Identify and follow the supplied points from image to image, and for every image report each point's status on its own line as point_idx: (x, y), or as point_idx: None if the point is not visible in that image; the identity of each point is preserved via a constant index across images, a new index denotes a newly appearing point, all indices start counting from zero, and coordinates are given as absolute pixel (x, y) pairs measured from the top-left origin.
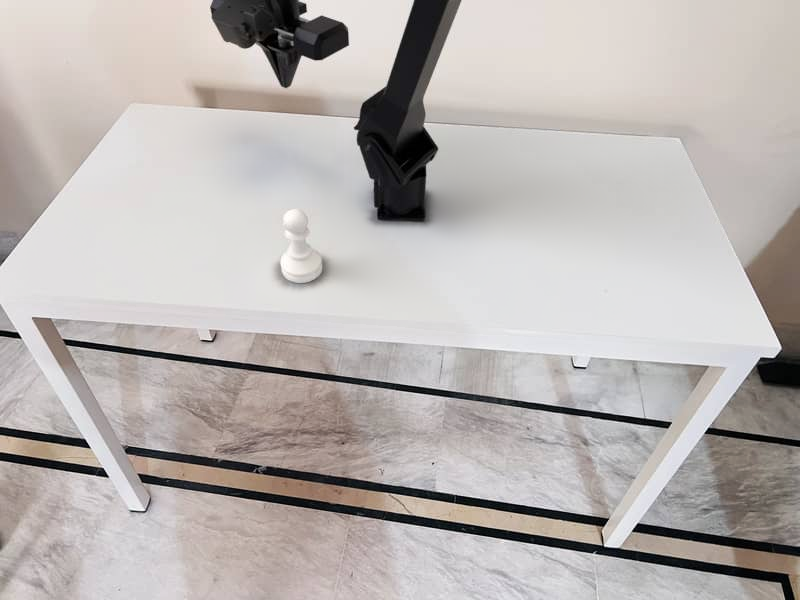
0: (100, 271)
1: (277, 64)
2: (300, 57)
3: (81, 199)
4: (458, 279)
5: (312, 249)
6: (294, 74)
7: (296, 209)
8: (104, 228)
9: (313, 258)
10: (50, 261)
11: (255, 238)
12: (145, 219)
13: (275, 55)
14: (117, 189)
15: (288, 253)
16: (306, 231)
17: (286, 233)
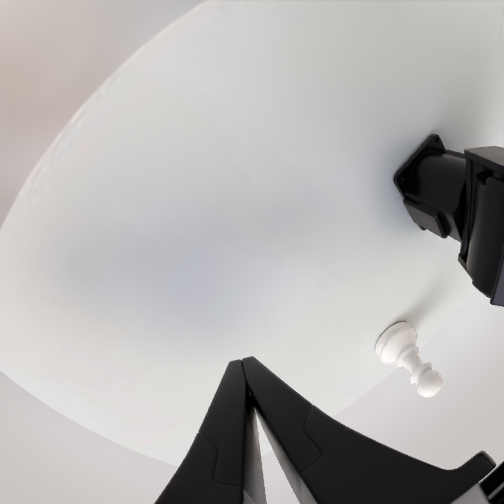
0: None
1: (259, 461)
2: (330, 420)
3: (133, 441)
4: None
5: (408, 338)
6: (276, 377)
7: (435, 388)
8: None
9: (415, 342)
10: None
11: (323, 360)
12: None
13: (263, 496)
14: (131, 424)
15: (402, 366)
16: (431, 368)
17: (415, 383)
